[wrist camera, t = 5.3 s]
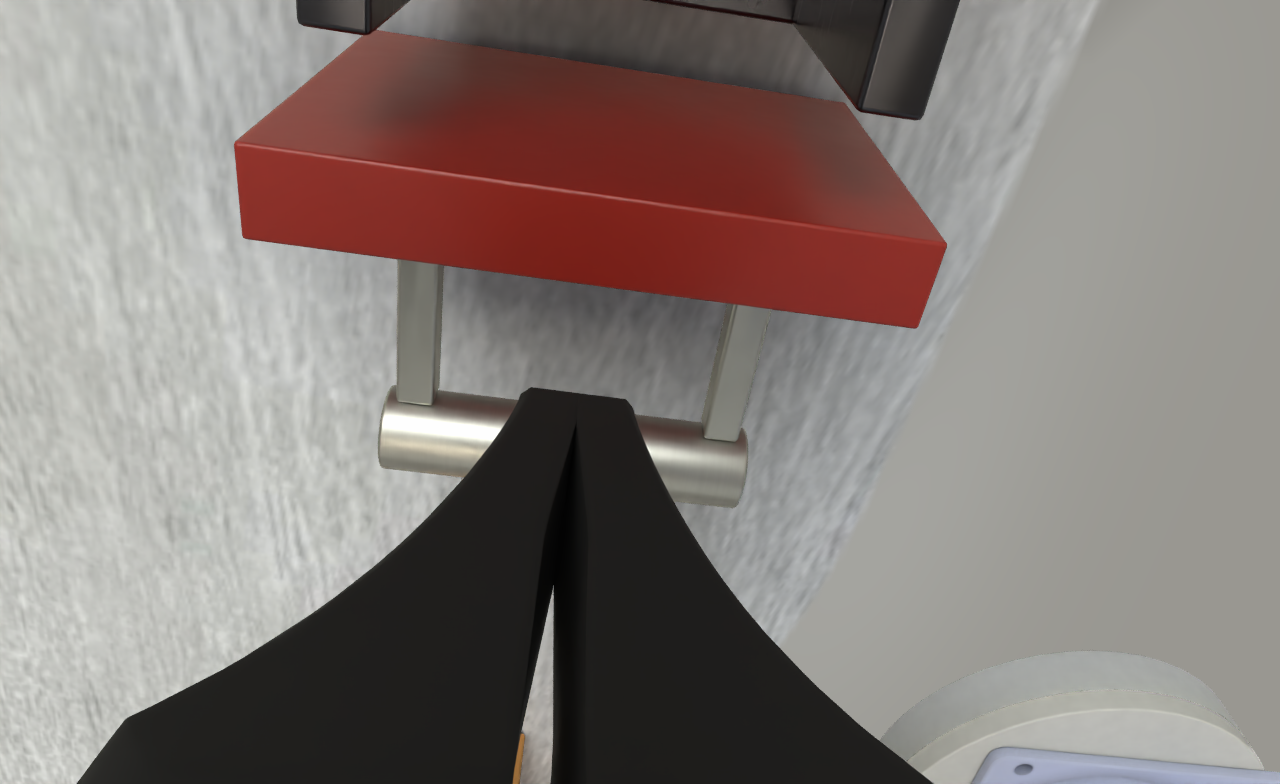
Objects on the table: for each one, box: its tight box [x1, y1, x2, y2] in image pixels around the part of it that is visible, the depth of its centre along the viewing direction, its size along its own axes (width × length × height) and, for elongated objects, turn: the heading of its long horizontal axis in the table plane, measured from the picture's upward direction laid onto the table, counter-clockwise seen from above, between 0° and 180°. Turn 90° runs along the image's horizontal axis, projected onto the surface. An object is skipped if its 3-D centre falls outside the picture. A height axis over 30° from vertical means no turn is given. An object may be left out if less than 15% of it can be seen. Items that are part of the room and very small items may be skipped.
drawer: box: [234, 0, 960, 508], centre depth 12 cm, size 15×8×6 cm, turn 171°
